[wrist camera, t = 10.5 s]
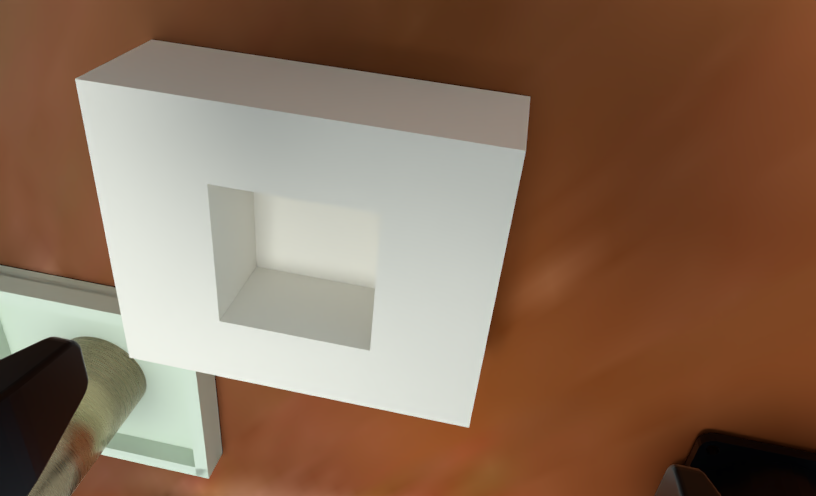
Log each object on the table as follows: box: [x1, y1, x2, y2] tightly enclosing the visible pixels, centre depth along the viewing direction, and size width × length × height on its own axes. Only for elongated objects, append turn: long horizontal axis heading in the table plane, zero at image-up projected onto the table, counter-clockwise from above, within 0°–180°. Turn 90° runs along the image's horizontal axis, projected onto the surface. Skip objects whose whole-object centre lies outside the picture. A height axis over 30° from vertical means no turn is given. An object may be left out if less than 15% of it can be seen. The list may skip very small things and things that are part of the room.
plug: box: [28, 336, 146, 496], centre depth 25 cm, size 4×4×8 cm
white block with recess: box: [75, 40, 530, 428], centre depth 21 cm, size 12×10×4 cm
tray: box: [0, 265, 222, 479], centre depth 29 cm, size 10×9×2 cm
